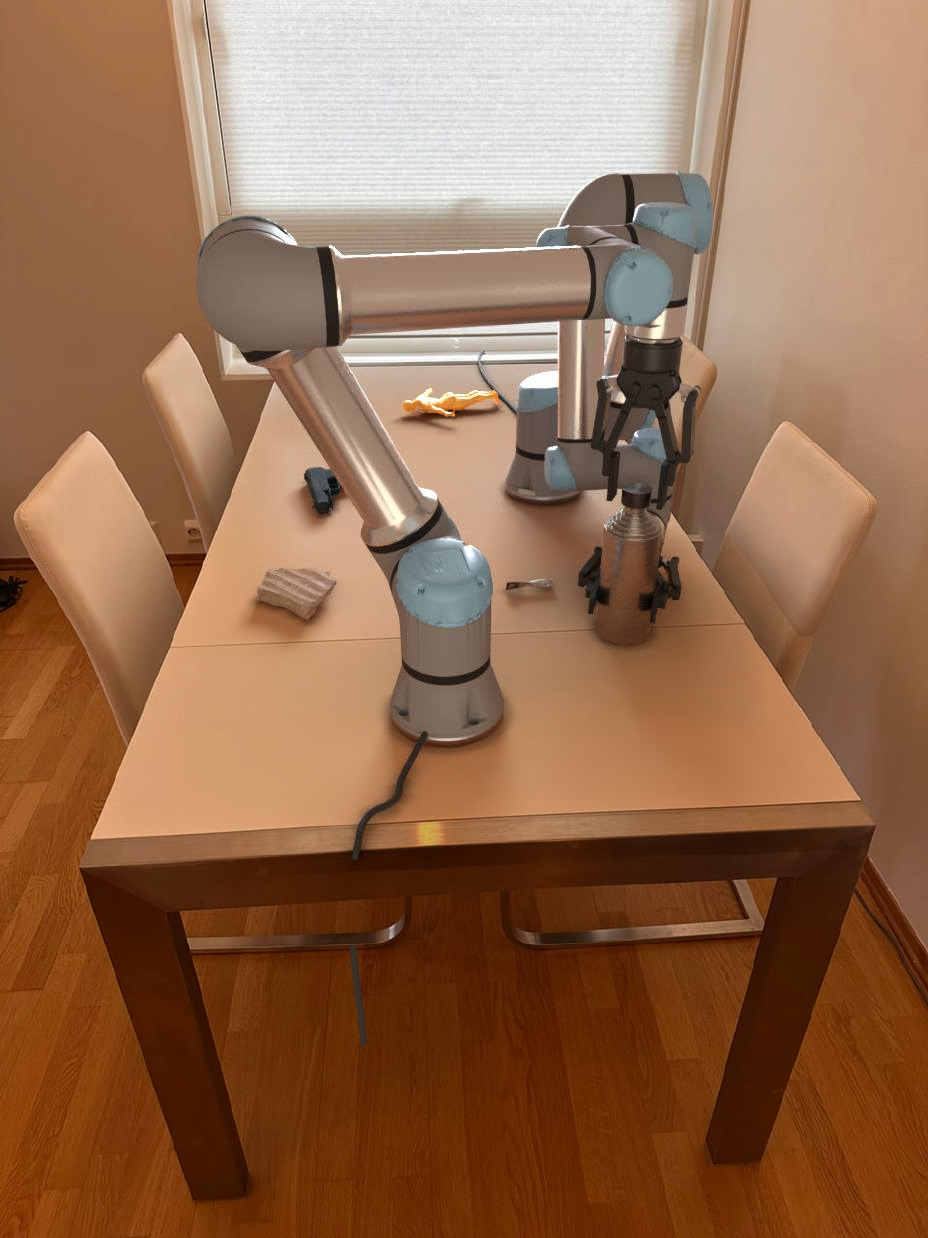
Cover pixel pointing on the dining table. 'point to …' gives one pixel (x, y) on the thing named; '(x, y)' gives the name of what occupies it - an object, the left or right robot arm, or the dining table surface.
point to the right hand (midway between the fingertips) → (621, 610)
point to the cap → (636, 495)
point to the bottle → (628, 576)
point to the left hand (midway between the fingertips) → (636, 501)
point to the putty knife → (529, 584)
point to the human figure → (448, 402)
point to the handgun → (322, 488)
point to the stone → (296, 589)
